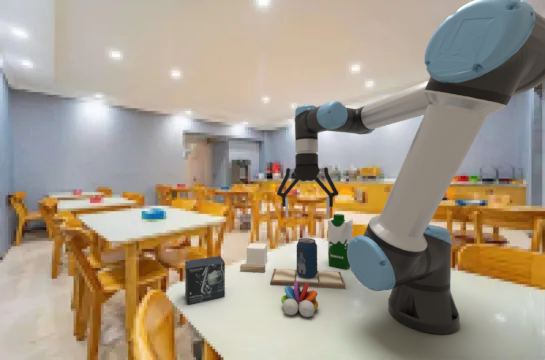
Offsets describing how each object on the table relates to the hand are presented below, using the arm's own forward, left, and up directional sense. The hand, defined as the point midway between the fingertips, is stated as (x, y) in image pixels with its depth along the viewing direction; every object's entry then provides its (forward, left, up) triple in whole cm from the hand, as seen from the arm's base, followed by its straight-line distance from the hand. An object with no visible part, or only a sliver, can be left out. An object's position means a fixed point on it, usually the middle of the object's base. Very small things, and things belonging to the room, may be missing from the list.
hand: (307, 216), depth 82 cm
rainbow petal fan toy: (-18, +2, -22) cm, 29 cm away
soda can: (0, 0, -20) cm, 20 cm away
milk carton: (+15, -13, -22) cm, 29 cm away
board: (0, 0, -21) cm, 21 cm away
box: (-15, +30, -22) cm, 40 cm away
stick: (+5, +20, -21) cm, 30 cm away
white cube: (+10, +20, -18) cm, 29 cm away
